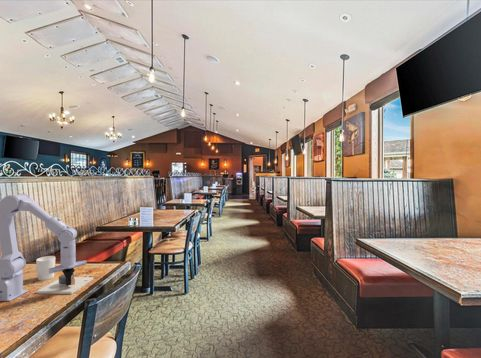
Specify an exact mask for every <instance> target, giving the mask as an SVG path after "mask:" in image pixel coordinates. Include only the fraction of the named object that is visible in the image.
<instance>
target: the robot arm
mask: <svg viewBox="0 0 481 358" xmlns="http://www.w3.org/2000/svg"><path fill="white" fill-rule="evenodd" d="M18 212H29V213H31V214H32V215H33V216H35V217H36V218H37V219H40V221H42V222H43V223H44V227H45V228H46V229H48V231H50V232H51V233H53V234H54V235H56V237H57V240H58V241H59V242H60V265H55V267H53V268H49V274H52V273H54V274H55V273H58V272H61V271H62V273H63V275H65V277H66V285H67V286H69V285H71V277H72V275H73V274H74V273H75V268H78V267H83V266H84V267H85V266H87V262H88V261H87V260H79V261H76V260H77V258H76V256H77V254H76V251H77V250H76V248H77V247H76V238H77V236H78V231H77V229H76V228H75V227H73V226H70V225H69V224H68V225H67V224H66V223H65V222H64V221H62V219H63V218H61V217H58V216H51V215H50V214H49V213H48V212H47V211H46V210H45V209H43V208H42V207H41V205H39V204H38V203H37V202H36V201H35V200H34V199H33V198H32V197H30V196H29V195H28V194H26V193H18V194H10V195H6V196H4V197H3V198H2V199H1V200H0V250H1V255H0V302H11V301H13V300H14V299H16V298H18V297H20V296H22V295H24V294H26V293H28V292H29V289H24V268H25V267H26V264H27V261H26V259H25V258H24V256H23V253H22V252H21V251H19V248H18V247H19V246H18V240H17V234H16V226H15V221H14V220H15V219H14V216H15V215H16V214H17V213H18Z"/></svg>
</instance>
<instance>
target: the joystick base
mask: <svg viewBox="0 0 481 358" xmlns="http://www.w3.org/2000/svg"><path fill="white" fill-rule="evenodd" d="M74 279H75V284H74V285H69V286H67V285H66V284H60V283H59V278H57V279H56V280H53V281H52V282H50V283H48V284H47V285H45V286H43V287H42V288H39V289H38V290H36V292H35V293H36V294H39V295H43V294H44V295H45V294H46V295H47V294H49V295H50V294H51V295H72V294H74V293H75V292H77V291H78V290H80V289H81V288H82V287H84V286H85V285H87V284H88V283H90V282H92V281H93V280H94V277H93V276H86V277H85V276H83V277H82V276H74Z"/></svg>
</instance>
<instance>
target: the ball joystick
mask: <svg viewBox="0 0 481 358" xmlns="http://www.w3.org/2000/svg"><path fill="white" fill-rule="evenodd" d="M74 277H75V274H74V273H73V275H72V277H71V285H74V284H75V279H74ZM58 279H59V283H60V284H66V277H65V275H64V274H61V275H59V276H58Z"/></svg>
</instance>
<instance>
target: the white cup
mask: <svg viewBox="0 0 481 358" xmlns="http://www.w3.org/2000/svg"><path fill="white" fill-rule="evenodd" d="M35 262H36V273H37V280H38V281H47V280H50V279H53V278H54V277H55V272H54V273H52V274H49V268H53V267H56V256H55V255H47V256H46V255H45V256H41V257H39V258H37V259H36V260H35Z"/></svg>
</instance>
